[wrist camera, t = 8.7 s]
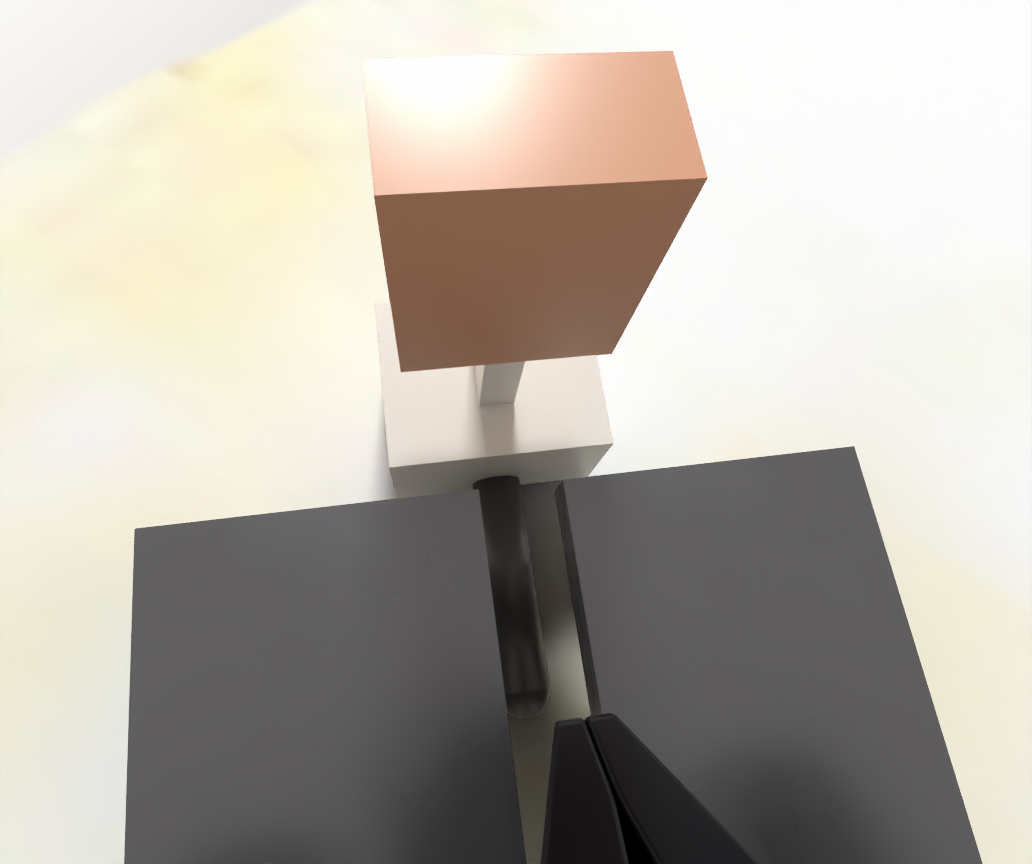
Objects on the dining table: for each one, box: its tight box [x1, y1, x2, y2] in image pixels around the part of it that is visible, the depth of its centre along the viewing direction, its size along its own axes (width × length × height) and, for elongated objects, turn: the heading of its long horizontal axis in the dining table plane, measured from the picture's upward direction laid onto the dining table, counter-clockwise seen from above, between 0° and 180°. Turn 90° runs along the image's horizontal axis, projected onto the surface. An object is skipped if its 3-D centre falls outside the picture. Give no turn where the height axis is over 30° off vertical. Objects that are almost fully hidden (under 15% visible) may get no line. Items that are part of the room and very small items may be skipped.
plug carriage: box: [362, 51, 707, 719], centre depth 12 cm, size 10×5×11 cm, turn 8°
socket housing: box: [124, 446, 982, 864], centre depth 14 cm, size 8×14×5 cm, turn 98°
